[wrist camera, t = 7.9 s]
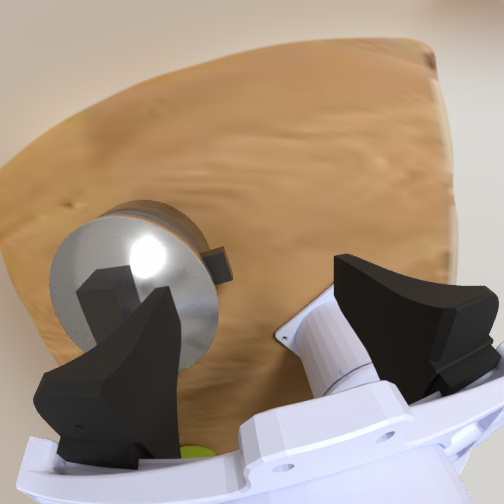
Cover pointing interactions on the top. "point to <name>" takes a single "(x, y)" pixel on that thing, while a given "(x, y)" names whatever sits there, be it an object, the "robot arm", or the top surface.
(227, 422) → the top surface
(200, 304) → the cooker lid
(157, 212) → the cooker pot
